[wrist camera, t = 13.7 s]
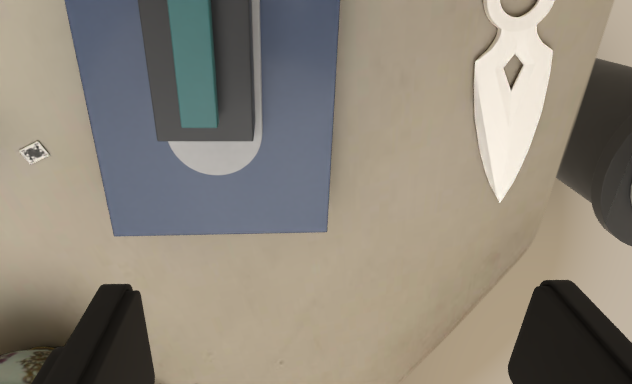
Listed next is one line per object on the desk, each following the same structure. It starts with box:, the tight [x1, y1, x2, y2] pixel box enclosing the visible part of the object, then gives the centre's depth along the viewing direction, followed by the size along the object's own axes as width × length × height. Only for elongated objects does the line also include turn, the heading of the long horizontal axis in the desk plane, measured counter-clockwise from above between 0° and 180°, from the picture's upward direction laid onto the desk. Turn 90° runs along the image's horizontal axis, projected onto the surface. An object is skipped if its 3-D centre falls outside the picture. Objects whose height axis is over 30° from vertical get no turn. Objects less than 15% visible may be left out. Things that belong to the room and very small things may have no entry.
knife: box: [474, 0, 555, 202], centre depth 31 cm, size 6×28×1 cm, turn 7°
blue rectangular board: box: [65, 0, 340, 236], centre depth 27 cm, size 16×32×4 cm, turn 178°
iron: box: [138, 0, 263, 175], centre depth 24 cm, size 14×6×7 cm, turn 178°
